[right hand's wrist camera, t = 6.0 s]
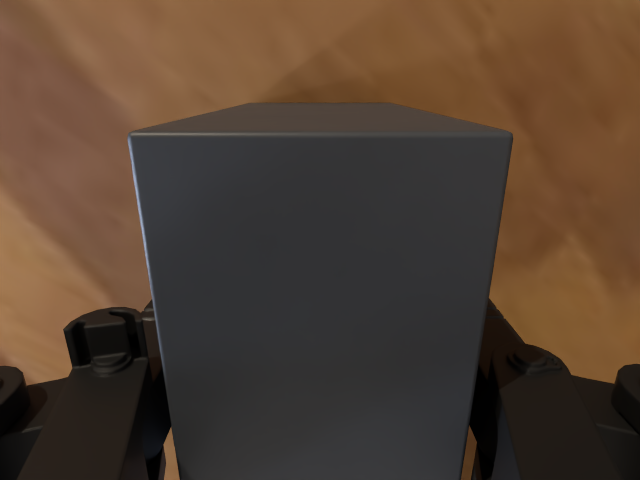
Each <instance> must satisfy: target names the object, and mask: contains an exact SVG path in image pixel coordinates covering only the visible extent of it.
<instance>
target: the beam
mask: <svg viewBox="0 0 640 480" xmlns="http://www.w3.org/2000/svg"><path fill="white" fill-rule="evenodd" d="M512 142H513V135H512V133H511V132H509V131H506V130H502V129H498V128H493V127H489V126H485V125H481V124H477V123H472V122H468V121H464V120H460V119H456V118H451V117H447V116H443V115H439V114H435V113H431V112H426V111H422V110H418V109H414V108H410V107H405V106H401V105H397V104H393V103H248V104H243V105H239V106H235V107H231V108H227V109H223V110H218V111H214V112H210V113H206V114H202V115H197V116H193V117H189V118H185V119H181V120H177V121H172V122H168V123H164V124H160V125H156V126H151V127H147V128H143V129H139V130H135V131H132V132H130V133H129V134H128V145H129V151H130V158H131V164H132V171H133V177H134V184H135V190H136V197H137V203H138V210H139V216H140V223H141V229H142V236H143V242H144V249H145V255H146V262H147V269H148V275H149V282H150V288H151V295H152V301H153V308H154V314H155V321H156V327H157V334H158V340H159V347H160V353H161V360H162V366H163V373H164V379H165V386H166V392H167V399H168V405H169V412H170V418H171V425H172V432H173V438H174V445H175V451H176V458H177V464H178V471H179V477H180V480H461V474H462V468H463V461H464V455H465V448H466V442H467V435H468V429H469V422H470V416H471V409H472V403H473V396H474V390H475V383H476V377H477V370H478V364H479V357H480V351H481V344H482V338H483V331H484V325H485V318H486V311H487V305H488V298H489V292H490V285H491V279H492V272H493V266H494V259H495V253H496V246H497V240H498V233H499V227H500V220H501V214H502V207H503V201H504V194H505V188H506V181H507V175H508V168H509V162H510V155H511V149H512Z"/></svg>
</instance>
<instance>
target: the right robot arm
mask: <svg viewBox="0 0 640 480" xmlns="http://www.w3.org/2000/svg"><path fill="white" fill-rule="evenodd" d="M503 317H504V316H503V315H502V314H501V313H500V311H499V310H497V309H496V306H495V305H494V304H493V303H492V301H491V300H490V299H489V298H488V305H487V311H486V318H485V325H484V331H483V338H482V344H481V351H480V357H479V364H478V370H477V377H476V383H475V390H474V396H473V403H472V409H471V416H470V422H469V425H470V427H471V430H472V432H473V434H474V436H475V439H476V441H477V446H476V452H475V458H474V464H473V470H472V476H471V480H640V364H632V365H625V366H623V367H622V368H621V369H620V370H618V373H617V377H616V380H615V384H612V383H607V382H602V381H597V380H592V379H587V378H581V377H578V376H574V375H571V374H570V372H569V370H568V368H567V367H566V365H565V364H564V363H563V362H562V360H561V359H559V358H558V357H556V356H555V355H553V354H552V353H550V352H549V351H546V350H544V349H542V348H539V347H537V346H533V345H528V344H525V343H524V342H523V340H522V339H521V338H520V337H519V335H518V334H517V333H516V332H515V330H514V329H513V328H512V326H511V325H510V324H509V323H508V321H507V320H506V319H504V318H503ZM63 330H64V334H65V339H66V343H67V347H68V351H69V355H70V359H71V363H72V370H71V372H70V374H69V376H68V377H66V378H63V379H58V380H53V381H48V382H43V383H38V384H33V385H28V386H26V382H25V379H24V375H23V372H21V371H20V370H19V369H18V368H16V367H10V366H0V480H164V475H165V467H166V459H165V452H164V446H163V444H164V442H165V439H166V437H167V435H168V432H169V430H170V428H171V427H172V425H171V418H170V412H169V405H168V399H167V392H166V386H165V379H164V373H163V366H162V360H161V353H160V347H159V340H158V334H157V327H156V321H155V314H154V308H153V301H152V300H151V301H150V302H149V304H148V305H147V306H146V307H145V309H144V311H142V312H141V313H140V312H138V311H137V310H136V309H132V308H127V307H111V308H105V309H100V310H96V311H93V312H90V313H87V314H84V315H82V316H80V317H78V318H77V319H75V320H73V321H71V322H70V323H69V324H68V325H67V326H66V327H65V328H64V329H63ZM172 433H173V432H172ZM173 440H174V438H173ZM174 446H175V445H174Z"/></svg>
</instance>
